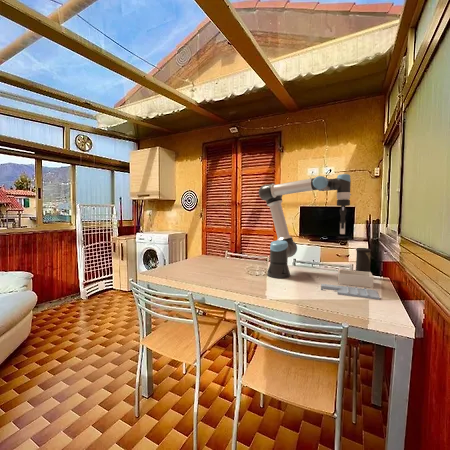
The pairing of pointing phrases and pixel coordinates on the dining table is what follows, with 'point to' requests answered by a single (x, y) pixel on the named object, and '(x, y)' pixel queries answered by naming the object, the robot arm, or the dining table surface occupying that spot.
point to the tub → (355, 278)
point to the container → (363, 259)
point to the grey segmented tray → (352, 291)
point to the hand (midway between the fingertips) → (342, 233)
